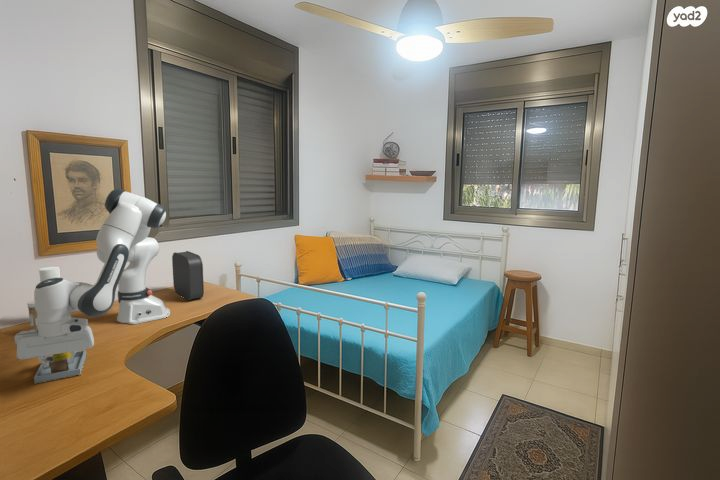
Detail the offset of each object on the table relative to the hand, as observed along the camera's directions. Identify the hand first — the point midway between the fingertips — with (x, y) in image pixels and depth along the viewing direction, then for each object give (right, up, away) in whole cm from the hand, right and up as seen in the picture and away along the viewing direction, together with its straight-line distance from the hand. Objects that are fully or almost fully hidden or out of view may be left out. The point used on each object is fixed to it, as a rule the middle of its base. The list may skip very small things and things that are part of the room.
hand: (59, 364), depth 126 cm
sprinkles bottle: (-37, +3, +34) cm, 51 cm away
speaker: (+4, +10, +87) cm, 88 cm away
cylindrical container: (-40, +5, +47) cm, 62 cm away
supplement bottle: (-5, -2, +8) cm, 9 cm away
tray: (-2, -3, +4) cm, 6 cm away
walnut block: (0, -3, +1) cm, 3 cm away
